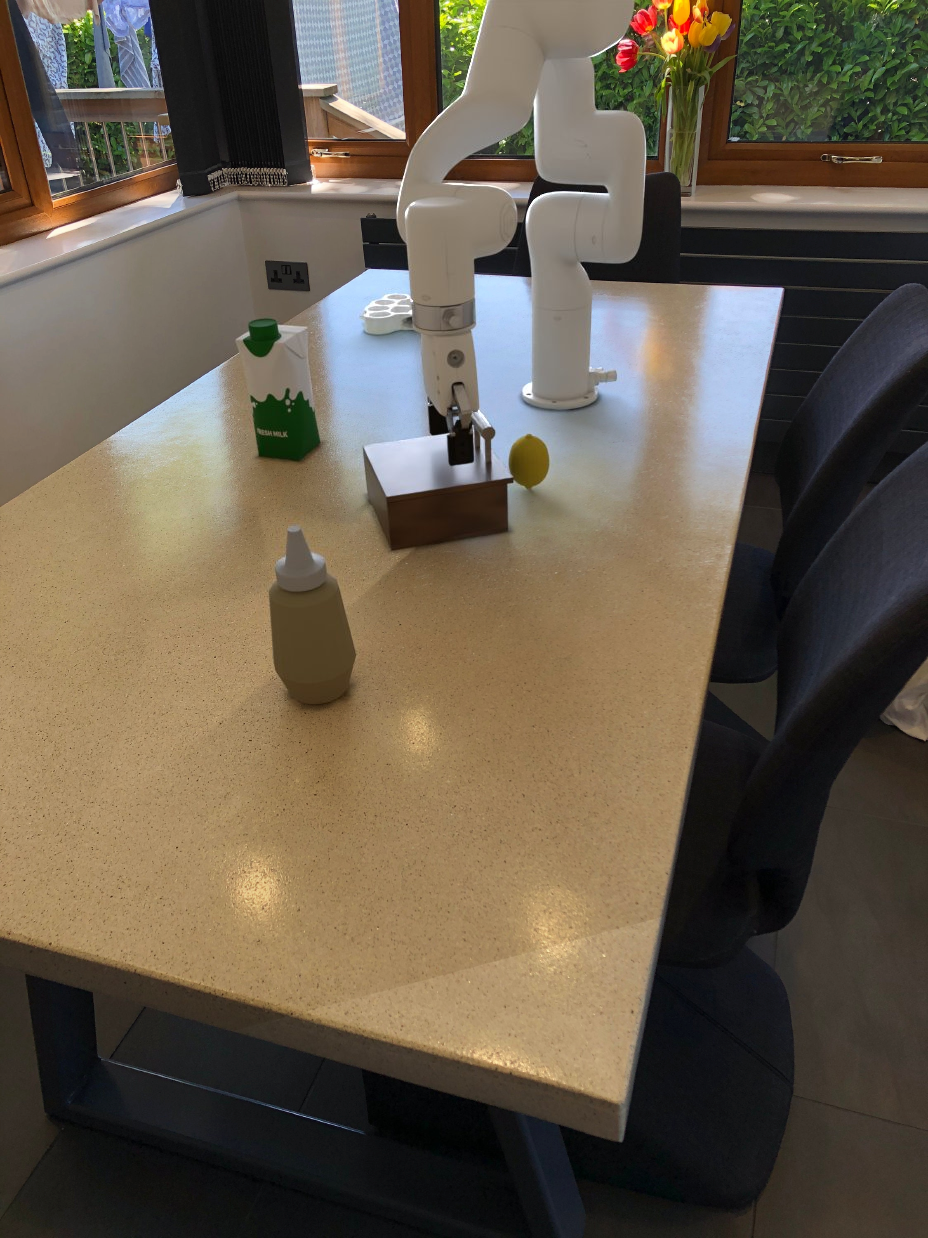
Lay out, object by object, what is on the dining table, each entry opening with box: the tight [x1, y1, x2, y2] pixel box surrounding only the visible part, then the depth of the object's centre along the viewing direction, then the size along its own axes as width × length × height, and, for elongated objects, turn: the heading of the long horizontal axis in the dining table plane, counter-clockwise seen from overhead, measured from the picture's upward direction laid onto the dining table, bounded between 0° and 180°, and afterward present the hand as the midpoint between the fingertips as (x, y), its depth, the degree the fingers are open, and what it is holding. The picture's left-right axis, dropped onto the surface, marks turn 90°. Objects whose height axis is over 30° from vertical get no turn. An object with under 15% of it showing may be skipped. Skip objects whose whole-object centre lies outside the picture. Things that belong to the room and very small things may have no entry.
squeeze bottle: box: [268, 525, 357, 705], centre depth 87 cm, size 8×8×18 cm
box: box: [362, 451, 509, 552], centre depth 120 cm, size 15×16×7 cm
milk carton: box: [234, 317, 322, 462], centre depth 136 cm, size 9×9×20 cm
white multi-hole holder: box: [357, 293, 415, 336], centre depth 193 cm, size 3×18×15 cm
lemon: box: [508, 433, 550, 490], centre depth 125 cm, size 6×6×8 cm
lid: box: [362, 410, 515, 503], centre depth 117 cm, size 16×16×6 cm
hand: (451, 448), depth 118 cm, fingers open, 9 cm apart
